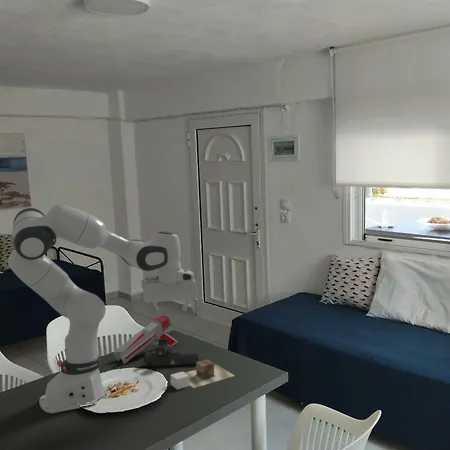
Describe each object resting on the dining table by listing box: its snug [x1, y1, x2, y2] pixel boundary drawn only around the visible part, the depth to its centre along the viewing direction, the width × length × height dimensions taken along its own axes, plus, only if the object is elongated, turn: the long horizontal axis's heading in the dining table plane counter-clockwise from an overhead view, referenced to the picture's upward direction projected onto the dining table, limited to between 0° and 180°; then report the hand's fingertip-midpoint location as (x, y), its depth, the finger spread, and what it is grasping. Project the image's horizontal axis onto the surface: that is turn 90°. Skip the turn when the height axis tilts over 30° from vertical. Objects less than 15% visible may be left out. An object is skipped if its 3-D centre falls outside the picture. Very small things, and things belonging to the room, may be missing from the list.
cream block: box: [170, 371, 190, 390], centre depth 190 cm, size 5×5×5 cm
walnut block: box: [195, 359, 215, 379], centre depth 198 cm, size 5×5×5 cm
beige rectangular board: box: [184, 363, 235, 389], centre depth 198 cm, size 18×14×1 cm
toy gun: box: [113, 315, 179, 365], centre depth 225 cm, size 7×28×15 cm, turn 133°
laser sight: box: [143, 339, 200, 368], centre depth 211 cm, size 10×22×10 cm, turn 90°
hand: (171, 312), depth 190 cm, fingers open, 8 cm apart
